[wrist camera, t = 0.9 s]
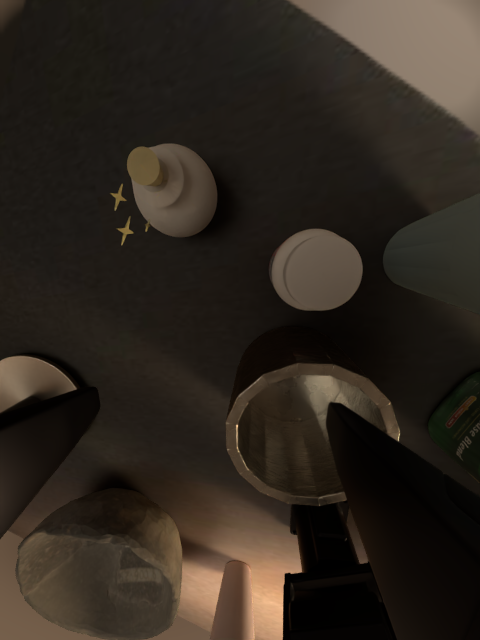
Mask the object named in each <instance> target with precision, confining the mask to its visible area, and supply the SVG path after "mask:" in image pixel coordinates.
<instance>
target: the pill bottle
mask: <svg viewBox="0 0 480 640" xmlns="http://www.w3.org/2000/svg"><path fill="white" fill-rule="evenodd" d="M362 272H363V267H362V260H361V257H360V255H359V253H358V251H357V250H356V248H355V247H354V246H353V245H352V244H351V243H350V242H348V241H347V240H346V239H344V238H341V237H340V236H338V235H337V234H335V233H333V232H331V231H328V230H324V229H308V230H304V231H301V232H298V233H296V234H294V235H292V236H291V237H289V238H288V239H287V240H286V241H285V242H284V243H282V244H281V245H280V246H279V247H278V248H277V249H276V250H275V252H274V253H273V255H272V257H271V260H270V263H269V276H270V280H271V282H272V284H273V286H274V288H275V291H276V292H277V294H278V295H279V296H280V297H281V299H282V300H284V301H285V302H286V303H287V304H289V305H290V306H292V307H294V308H297V309H301V310H307V311H313V310H317V311H323V310H330V309H334V308H336V307H338V306H341V305H342V304H344V303H345V302H347V301H348V300H349V299H350V298H351V297H352V296H353V295H354V293H355V292H356V290H357V289H358V287H359V285H360V282H361V279H362Z"/></svg>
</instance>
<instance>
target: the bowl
mask: <svg viewBox="0 0 480 640" xmlns="http://www.w3.org/2000/svg"><path fill="white" fill-rule="evenodd" d="M15 571H16V578H17V581H18V584H19V585H20V591H21V593H22V595H23V596H24V598H25V601H27V603H28V604H29V605H30V606H31V607H32V608H33V609H34V610H35V611H36V612H38V613H39V614H40V615H41V616H42V617H44V618H45V619H47V620H48V621H50V622H52V623H54V624H56V625H58V626H60V627H63V628H65V629H67V630H70V631H73V632H77V633H81V634H87V635H90V636H93V637H98V638H102V639H108V640H140V639H148V638H152V637H154V636H157V635H159V634H160V633H162V632H164V631H165V630H167V629H168V628H169V627H170V626H171V625H172V624H173V621H174V619H175V617H176V615H177V612H178V608H179V603H180V593H181V579H182V547H181V542H180V537H179V532H178V529H177V527H176V524H175V522H174V520H173V519H172V518H171V517H170V516H169V515H168V514H167V513H166V512H164V511H163V510H162V509H161V508H160V507H159V506H158V505H156V504H155V503H154V502H152V501H150V500H149V499H147V498H146V497H145V496H143V495H142V494H141V493H139V492H137V491H132V490H126V489H121V488H110V489H106V490H102V491H98V492H94V493H91V494H88V495H85V496H83V497H81V498H78V499H75V500H73V501H70V502H69V503H68V504H66V505H64V506H63V507H61V508H59V509H57V510H56V511H54V512H53V513H52V514H50V515H49V516H48V517H47V518H45V519H44V520H43V521H42V522H41V523H40V524H39V525H38V526H37V527H36V528H35V529H34V530H33V531H32V532H31V533H30V534H29V535H28V536H27V537H26V538H25V539H24V540H23V541H22V542H21V544H20V545H19V546H18V559H17V564H16V570H15Z"/></svg>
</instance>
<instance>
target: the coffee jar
mask: <svg viewBox="0 0 480 640" xmlns="http://www.w3.org/2000/svg"><path fill="white" fill-rule="evenodd" d="M428 430H429V434H430V436H431V438H432V440H433V441H434V442H435V443H436V444H437V445H438V446H439V447H440V448H441V449H442V450H443V451H444V452H445V453H446V454H447V455H448V456H449V457H450V458H451V459H453V460H454V461H455V462H456V463H457V464H458V465H459V466H460V467H462V468H463V469H464V470H465V471H466V472H467V473H468V474H470V475H471V476H472V477H473V478H474V479H475V480H477V481H478V482H479V483H480V372H476V373H474V374H472V375H470V376H469V377H468V378H466V379H465V380H464V381H463V382H462V383H460V384H459V385H458V386H457V387H456V388H455V389H454V390H453V391H452V392H451V393H450V394H449V395H448V396H447V397H446V398H445V399H444V400H443V401H442V402H441V403H440V405H439V406H438V407H437V409H436V410H435V411H434V413H433V414H432V415H431V417H430V419H429V422H428Z"/></svg>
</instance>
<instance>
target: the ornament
mask: <svg viewBox="0 0 480 640" xmlns="http://www.w3.org/2000/svg"><path fill="white" fill-rule="evenodd" d="M127 169H128V172H129V175H130V176H131V178H132V184H133V192H134V197H135V200H136V203H137V206H138V208H139V210H140V212H141V213H142V215H143V216H144V218H145V219H146V220H147V221H148V223H147V224H144V225H146V231H147V229H148V227H151V226H150V225H149V223H150V224H151V225H152V226H153V227H154V228H156V229H157V230H159V231H160V232H162V233H164V234H167V235H169V236H173V237H188V236H192V235H195V234H197V233H199V232H200V231H202V230H203V229H204V228H205V227H206V226H207V225H208V224H209V223H210V221H211V220H212V218H213V216H214V213H215V210H216V206H217V188H216V183H215V180H214V177H213V175H212V172H211V171H210V169H209V167H208V166H207V164H206V163H205V162H204V160H203V159H202V158H201V157H200V156H199V155H198V154H196V153H195V152H193V151H192V150H190V149H188V148H186V147H184V146H181V145H178V144H161V145H158V146H155V147H150V148H146V147H138V148H136V149H134V150H133V151H132V152H131V153H130V155H129V157H128V161H127ZM122 187H123V184H121V187H120V189H119V191H118V194H114V193H110V194H111V195H112V196H114V197H115V198H116V203H115V210H116V208H117V206H118V204H119V201H126V200H125V199H124V198H123V197H122V196H121V194H122ZM130 218H131V216H130V217H129V219H128V221H127V223H126V226H125V228H116V229H117V230H119V231H121V232H122V233H123V237H122V243H121V245H123V242H124V240H125V238H126V235H127V234H133V233H134V232H132V231H131V230H129V224H130ZM146 231H145V232H146Z"/></svg>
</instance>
